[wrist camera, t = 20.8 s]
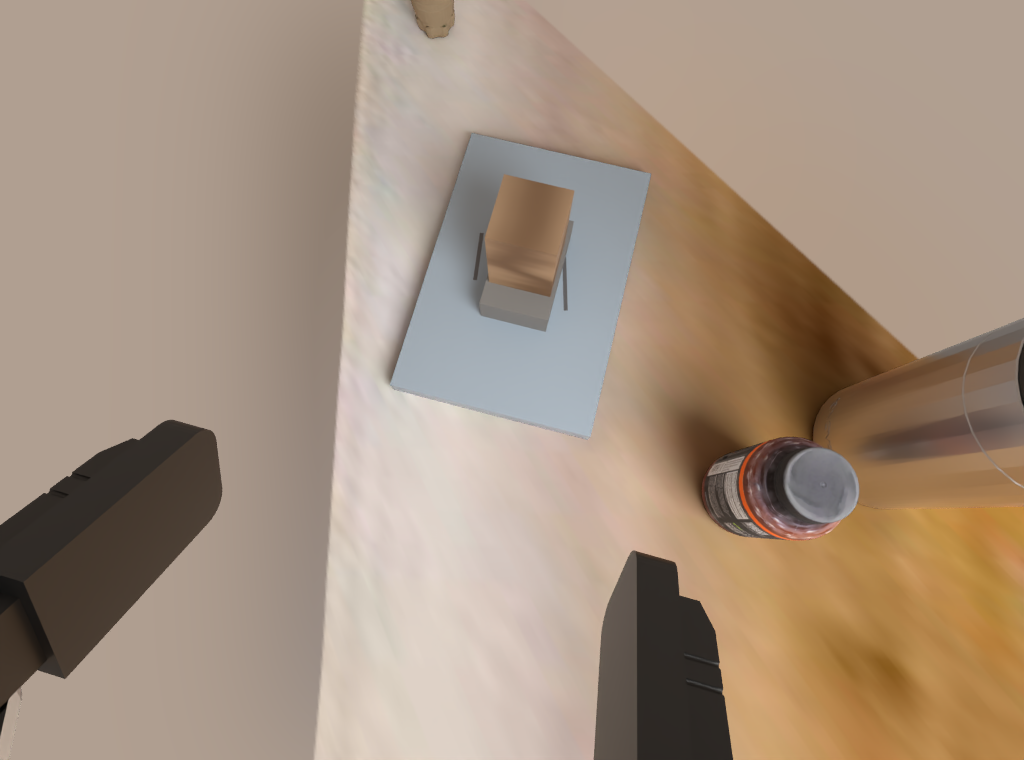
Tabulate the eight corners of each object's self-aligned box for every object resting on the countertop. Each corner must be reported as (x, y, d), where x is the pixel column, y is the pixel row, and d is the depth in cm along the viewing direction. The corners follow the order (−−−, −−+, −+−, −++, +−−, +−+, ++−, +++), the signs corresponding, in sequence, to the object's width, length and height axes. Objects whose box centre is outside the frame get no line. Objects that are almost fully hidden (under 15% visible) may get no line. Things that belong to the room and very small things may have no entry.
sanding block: (570, 237, 43) (584, 167, 35) (545, 331, 42) (554, 282, 33) (508, 223, 44) (507, 149, 35) (481, 315, 42) (472, 262, 33)
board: (646, 184, 46) (651, 173, 45) (587, 439, 41) (590, 436, 40) (473, 144, 47) (471, 132, 46) (394, 389, 42) (389, 384, 41)
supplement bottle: (781, 457, 41) (879, 434, 30) (781, 540, 39) (885, 550, 28) (699, 448, 41) (767, 422, 30) (697, 531, 40) (767, 536, 29)
